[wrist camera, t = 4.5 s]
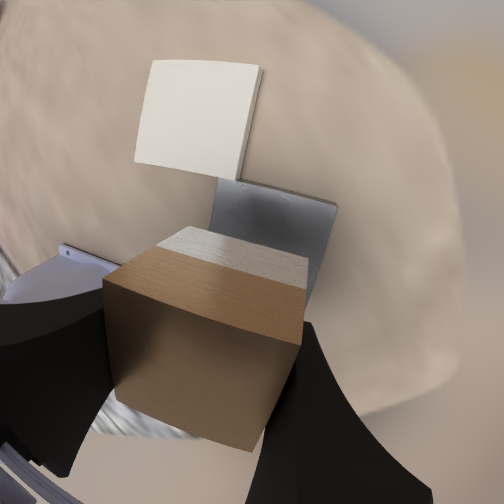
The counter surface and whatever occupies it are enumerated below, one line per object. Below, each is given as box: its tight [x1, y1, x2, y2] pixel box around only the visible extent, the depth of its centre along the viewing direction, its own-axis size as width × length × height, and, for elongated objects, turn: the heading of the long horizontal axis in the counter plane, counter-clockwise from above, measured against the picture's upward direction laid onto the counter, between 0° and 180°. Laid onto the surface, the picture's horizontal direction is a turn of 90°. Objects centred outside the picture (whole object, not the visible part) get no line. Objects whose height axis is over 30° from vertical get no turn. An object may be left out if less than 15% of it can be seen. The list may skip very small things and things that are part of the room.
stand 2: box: [209, 177, 337, 308], centre depth 17 cm, size 7×7×1 cm
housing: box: [102, 226, 309, 452], centre depth 9 cm, size 4×4×5 cm
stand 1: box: [134, 60, 263, 181], centre depth 16 cm, size 7×7×1 cm
